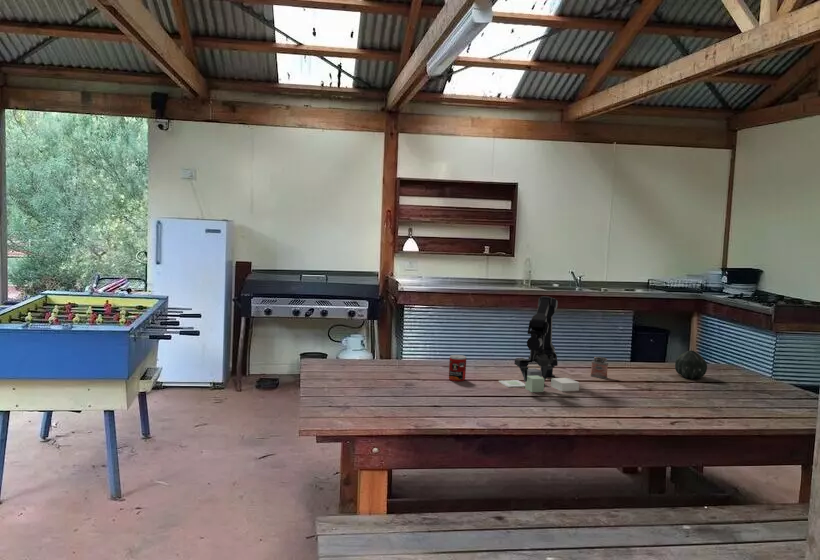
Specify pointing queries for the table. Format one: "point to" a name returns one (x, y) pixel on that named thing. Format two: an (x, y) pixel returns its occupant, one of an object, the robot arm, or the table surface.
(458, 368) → the canned food
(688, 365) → the squash
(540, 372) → the charcoal block
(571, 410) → the table surface
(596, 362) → the lighter
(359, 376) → the table surface
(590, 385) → the table surface
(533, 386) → the sage block
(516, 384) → the tile
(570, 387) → the base block
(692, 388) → the table surface
